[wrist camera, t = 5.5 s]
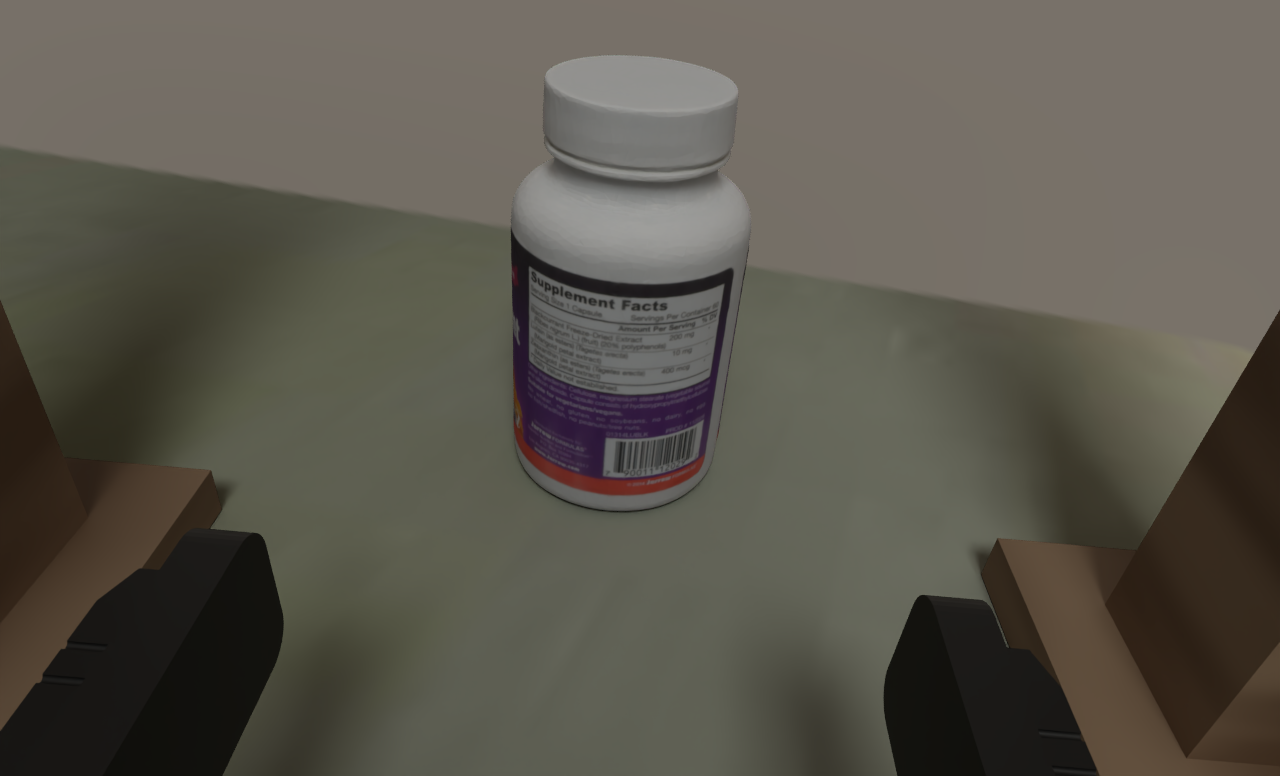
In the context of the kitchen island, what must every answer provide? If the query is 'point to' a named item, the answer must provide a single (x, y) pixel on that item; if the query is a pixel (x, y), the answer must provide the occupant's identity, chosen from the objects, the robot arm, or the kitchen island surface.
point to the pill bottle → (626, 281)
